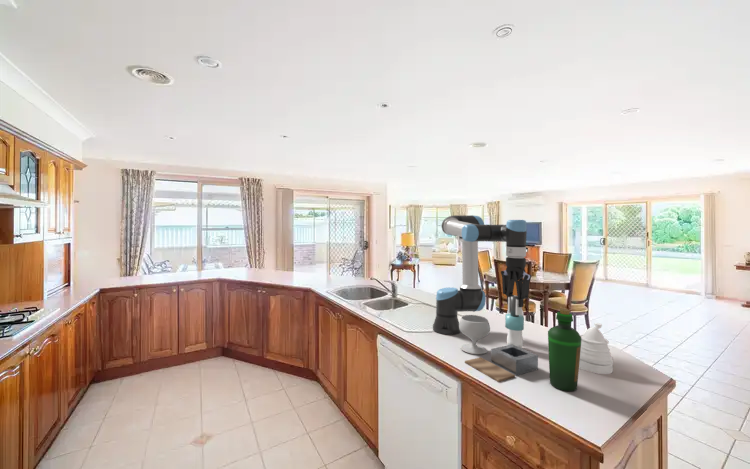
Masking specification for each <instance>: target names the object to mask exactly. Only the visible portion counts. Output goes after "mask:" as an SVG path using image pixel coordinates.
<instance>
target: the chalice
mask: <svg viewBox="0 0 750 469" xmlns="http://www.w3.org/2000/svg"><path fill="white" fill-rule="evenodd" d="M459 320H460V321H459V329H460V333H461V334H463V335H464V336H466V337H467V338H468V339H470V340H471V343H466V344H463V345H461V346H460V349H461V350H462V351H463V352H465V353H467V354H471V355H485V354H487V353H488V352H489V351H488V349H487V348H486V347H485V346H483V345H479V344H477V341H478V340H479V339H482V338H485V337H487V336H488V335H489V334H490V332H491V326H490V322H489V320H488V318H486V317H485V316H481V315H478V314H477V315H476V314H466V315H463V316H461V317H460V319H459Z"/></svg>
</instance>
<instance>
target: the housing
mask: <svg viewBox="0 0 750 469" xmlns="http://www.w3.org/2000/svg"><path fill="white" fill-rule="evenodd" d="M490 362H491V363H493V364H495V365H497V366H499V367H500V368H502V369H504V370H506V371H508V372H510V373H512V374H514V375H515V377H517V376H520V375H523V374H527V373H530V372H531V373H532V372H534V371H538V369H539V355H538V354H536V353H533V351H529V350H527V349H525V348H523V347H522V348H520V347H517V346H515V345H513V344H512V345H507V344H506V345H503V346H498V347H494V348H491V350H490Z"/></svg>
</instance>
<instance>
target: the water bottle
mask: <svg viewBox="0 0 750 469" xmlns="http://www.w3.org/2000/svg"><path fill="white" fill-rule="evenodd" d="M513 295H514V296H516V295H515V294H513ZM524 313H525V312H524V310H523V309H522V316H524ZM506 314H510V313H508V310H507V313H506ZM506 343H507V344H506V346H507V345H512V344H513V345H515V346H517V347H520V348H522V349H523V346H524V337H523V330H521V331H515V330H510V329H507V336H506Z"/></svg>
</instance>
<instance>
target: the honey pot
mask: <svg viewBox="0 0 750 469" xmlns="http://www.w3.org/2000/svg"><path fill="white" fill-rule="evenodd" d="M602 327H603V324H602V323H599V322H594V325H593V326H591V327H589V328H588V329H587V330H585V332H584V333H583V334H579V335H580V336H581V339H582V340H581V350H580V361H579V369H581V370H583V371H586V372H589V373H593V374H598V375H610V374H612V373H613V370H614V369H613V367H614V364H613V362H614V361H613V360H614V359H613V358H614V357H612V353H611V350H610V348H609V346H608V344H609V343H610V342H609V340H608V339H607V338H605V336H604V335H603V333H602V332H601V331H600V329H601V328H602Z"/></svg>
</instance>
